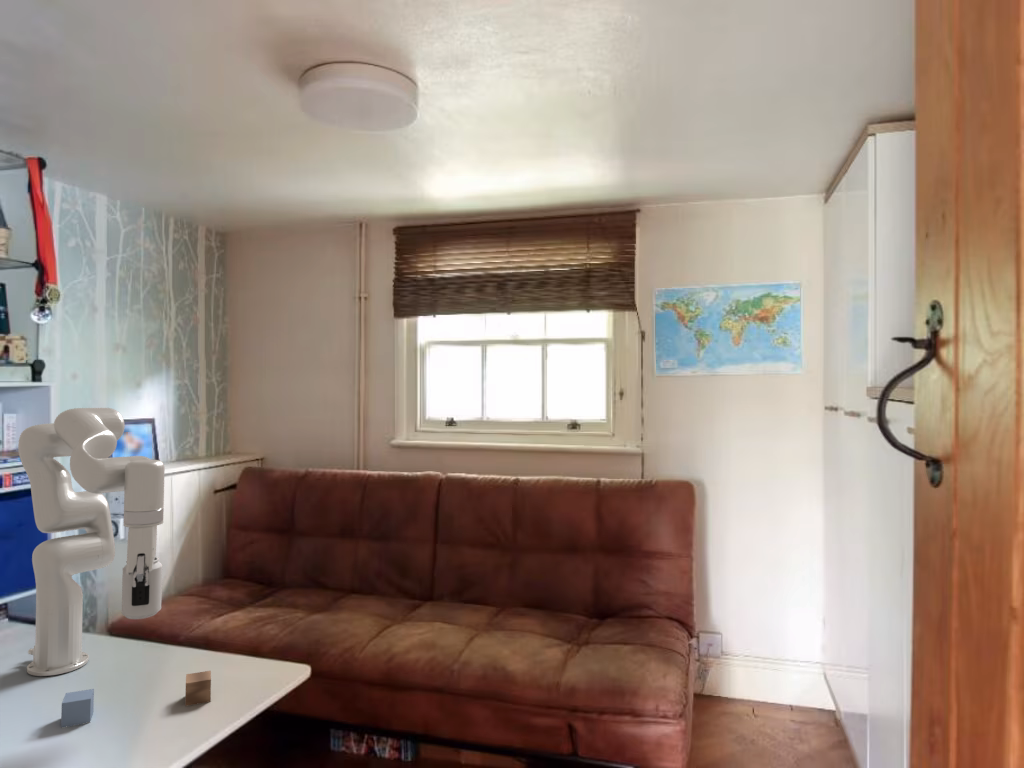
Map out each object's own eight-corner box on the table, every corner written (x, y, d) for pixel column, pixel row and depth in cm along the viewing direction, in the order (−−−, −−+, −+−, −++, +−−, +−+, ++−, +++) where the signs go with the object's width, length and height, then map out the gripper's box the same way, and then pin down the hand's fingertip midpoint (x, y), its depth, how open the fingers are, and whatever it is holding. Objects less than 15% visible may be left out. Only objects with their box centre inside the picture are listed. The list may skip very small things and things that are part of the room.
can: (143, 622, 138) (144, 564, 138) (112, 618, 139) (114, 562, 139) (169, 610, 145) (170, 555, 145) (139, 607, 146) (140, 553, 146)
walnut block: (185, 706, 143) (185, 683, 143) (185, 696, 148) (186, 674, 148) (210, 702, 145) (210, 679, 145) (210, 692, 150) (210, 670, 150)
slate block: (61, 728, 133) (61, 703, 133) (65, 716, 138) (65, 693, 138) (90, 723, 136) (90, 698, 136) (93, 712, 140) (93, 688, 140)
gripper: (127, 511, 148) (125, 589, 148) (119, 526, 133) (117, 614, 132) (165, 509, 152) (163, 585, 151) (161, 524, 136) (159, 609, 136)
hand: (141, 598), depth 142 cm, fingers closed on can, 7 cm apart
